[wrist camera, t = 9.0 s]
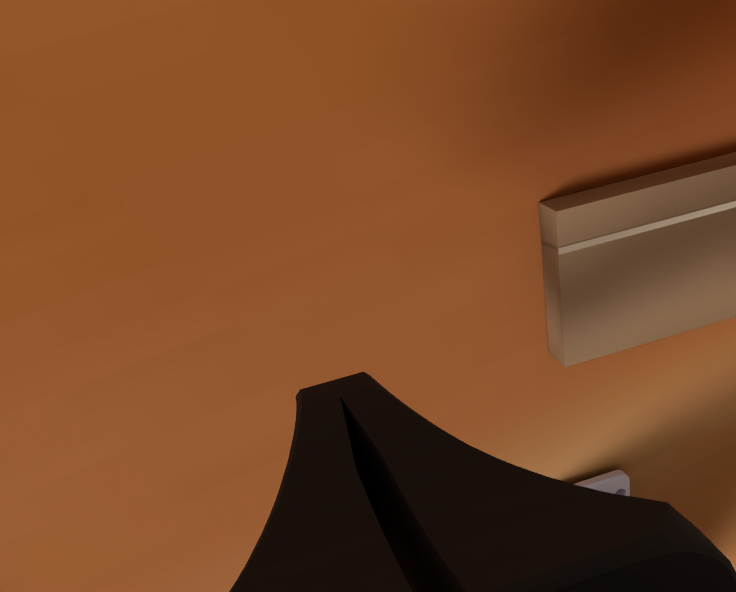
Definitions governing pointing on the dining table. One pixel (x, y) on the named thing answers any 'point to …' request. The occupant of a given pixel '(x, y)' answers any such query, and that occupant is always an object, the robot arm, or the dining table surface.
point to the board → (639, 259)
